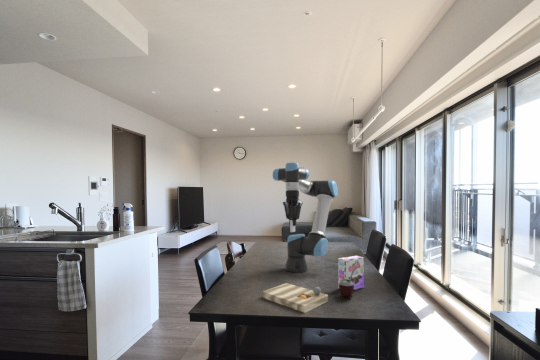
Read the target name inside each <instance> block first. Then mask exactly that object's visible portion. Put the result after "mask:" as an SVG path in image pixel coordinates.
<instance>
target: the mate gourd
mask: <svg viewBox="0 0 540 360" xmlns="http://www.w3.org/2000/svg"><path fill="white" fill-rule="evenodd" d="M356 269H357V268H356ZM356 269H354V270H353V271H352V274H351V277H352V275H353V273H354V271H355V270H356ZM351 277H350V279H349V280H348V279H343V280H341V281H340V283H339V292H340V298H341V299H348V300H349V301H350V300H352V298H351V297H353V293H354V291H355V290H354V285H353V282H352V281H351Z"/></svg>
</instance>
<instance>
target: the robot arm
mask: <svg viewBox="0 0 540 360" xmlns="http://www.w3.org/2000/svg"><path fill="white" fill-rule="evenodd" d="M309 177H310V171H309V170H308V169H307V168H305V167H301V166H300V165H299V163H298V162H286V163H285V168H283V167H282V168H275V169H274V170H273V171H272V179H273V181H276V182H277V181H278V182H279V181H281V182H283V183H284V184H285V197H286V199H285V201H282V205H283V208H284V212H285V213H284V214H285V219H287V220H288V221H289V223H288V224H289V228H290V229H289V230H290V231H289V232H290V233H295V232H296V227H297V220H299V219H300V215H301V210H302V206H303V202H301V201H300V199H299V198H300V192H301V193H303V194H304V195H306V196H307V195H308V196H311V197H313V198H316V199H317V203H316V204H317V205H316V208H315V214H314V217H313V218H314V219H313V221H312V227H311V231H310V232H308V236H306V235H305V233H296V234H290V235H288V236H287V240H286V241H287V242H286V243H287V245H286V246H287V259H286V263H285V266H284V270H285V271H286V272H290V273H304V272H307V271H308V270H309V266H308V263H307V260H306V256H310V257H317V258H318V257H321V258H323V257H324V256H325V255H326V254H327V252H328V249H329V241H328V239H327V236H326V235H325V234H326V229H327V228H326V227H327V223H328V222H327V221H328V218H329V214H330V207H331V203H332V202H333V201H334V199H335V198H337V197H338V195H339V190H338V185H337V184H338V183H337V182H336V181H335V180H330V179H329V180H308V178H309Z"/></svg>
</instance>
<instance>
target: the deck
mask: <svg viewBox="0 0 540 360" xmlns="http://www.w3.org/2000/svg"><path fill="white" fill-rule="evenodd" d="M313 290H314V289H309V288H306V287H301V286H298V285H294V284H292V283H288V282H286V283H282V284H279V285H277V286H274V287H272V288H268V289H266V290H263V291H262V299H266V300H267V301H271V302H273V303H276V304H279V305H281V306H285V307H286V308H287V307H288V308H290V309H293V310H294V311H295V310H296V311H298V312H301V313H302V314H303V313H304V314H306V313H309V311H312V310H314V309H316V308H319V306H321V305H324V304H326V303H328V302H329V295H328V294H326V293H323V292H321V293H320V294H319V295H316V294H315V293H314V291H313ZM301 295H305V296H306V297H307V299H303V298H300V296H301Z"/></svg>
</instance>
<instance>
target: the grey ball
mask: <svg viewBox="0 0 540 360" xmlns="http://www.w3.org/2000/svg"><path fill="white" fill-rule="evenodd" d="M312 290H313V291H314V293H315V294H316V295H319V294H320V293H322V288H320V286H314V288H313V289H312Z"/></svg>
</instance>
